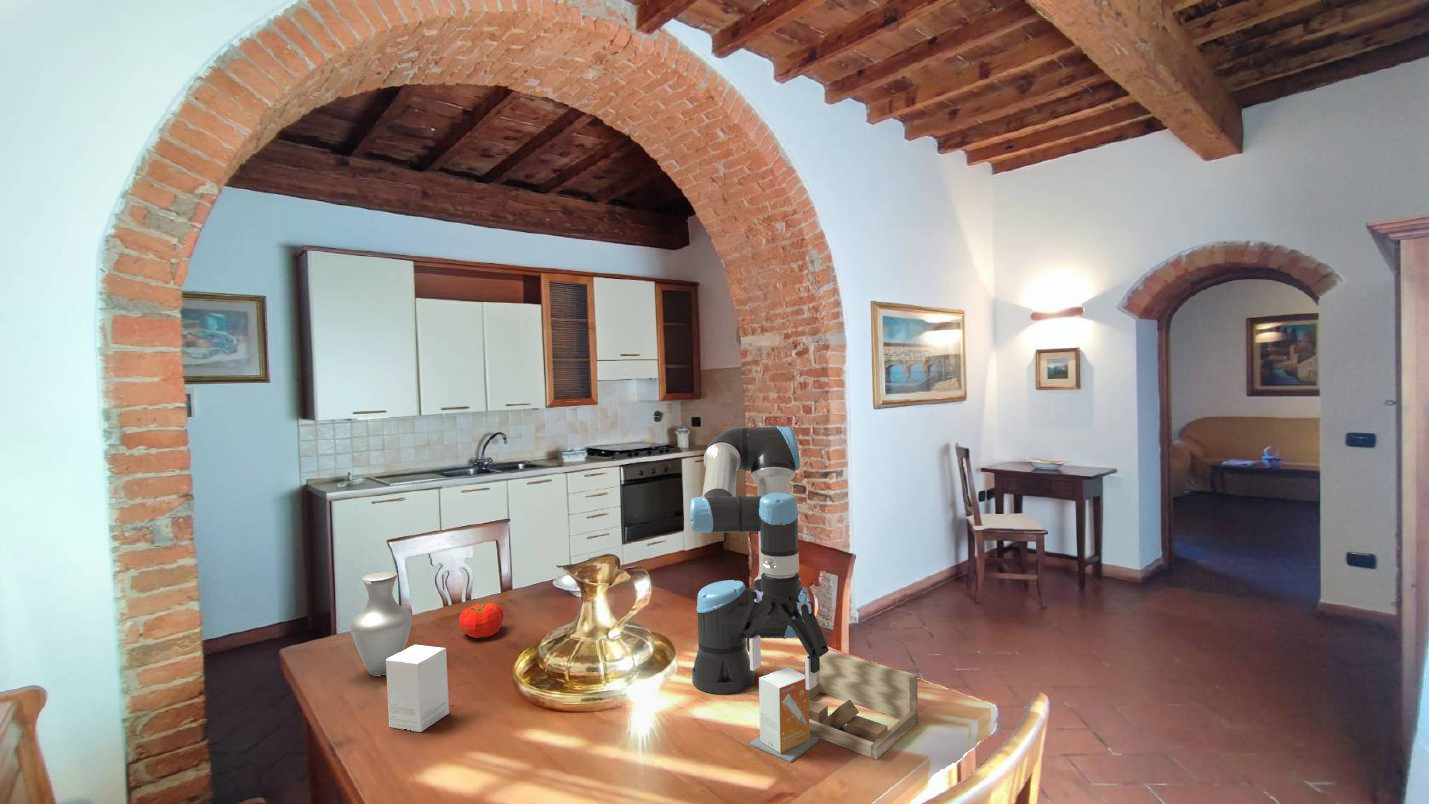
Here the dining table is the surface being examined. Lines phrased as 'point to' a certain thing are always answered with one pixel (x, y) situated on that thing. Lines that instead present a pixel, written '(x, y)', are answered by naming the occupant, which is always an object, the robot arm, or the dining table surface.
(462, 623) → the tomato
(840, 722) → the offcut
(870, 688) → the tray
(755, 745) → the mat
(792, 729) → the small box
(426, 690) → the supplement box
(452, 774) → the dining table surface
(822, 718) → the offcut
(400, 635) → the vase
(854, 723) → the offcut
